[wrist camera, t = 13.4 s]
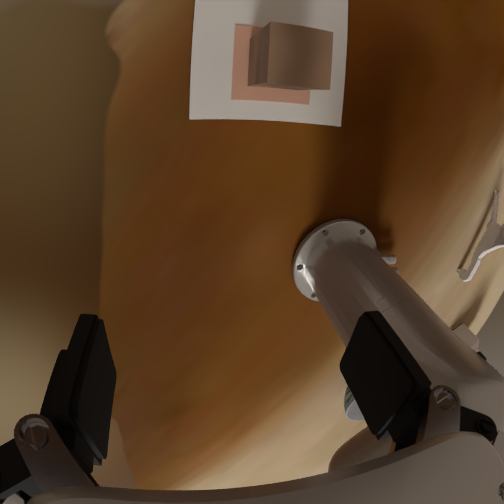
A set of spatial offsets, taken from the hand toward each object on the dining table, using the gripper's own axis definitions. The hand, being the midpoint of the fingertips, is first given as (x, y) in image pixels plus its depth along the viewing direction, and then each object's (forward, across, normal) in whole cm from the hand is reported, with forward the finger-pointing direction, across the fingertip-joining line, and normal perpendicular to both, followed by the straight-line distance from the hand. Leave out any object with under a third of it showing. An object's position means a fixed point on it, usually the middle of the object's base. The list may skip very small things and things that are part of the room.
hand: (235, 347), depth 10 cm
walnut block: (+23, -5, -12) cm, 27 cm away
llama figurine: (+26, -50, +4) cm, 56 cm away
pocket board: (+25, -5, -20) cm, 32 cm away
